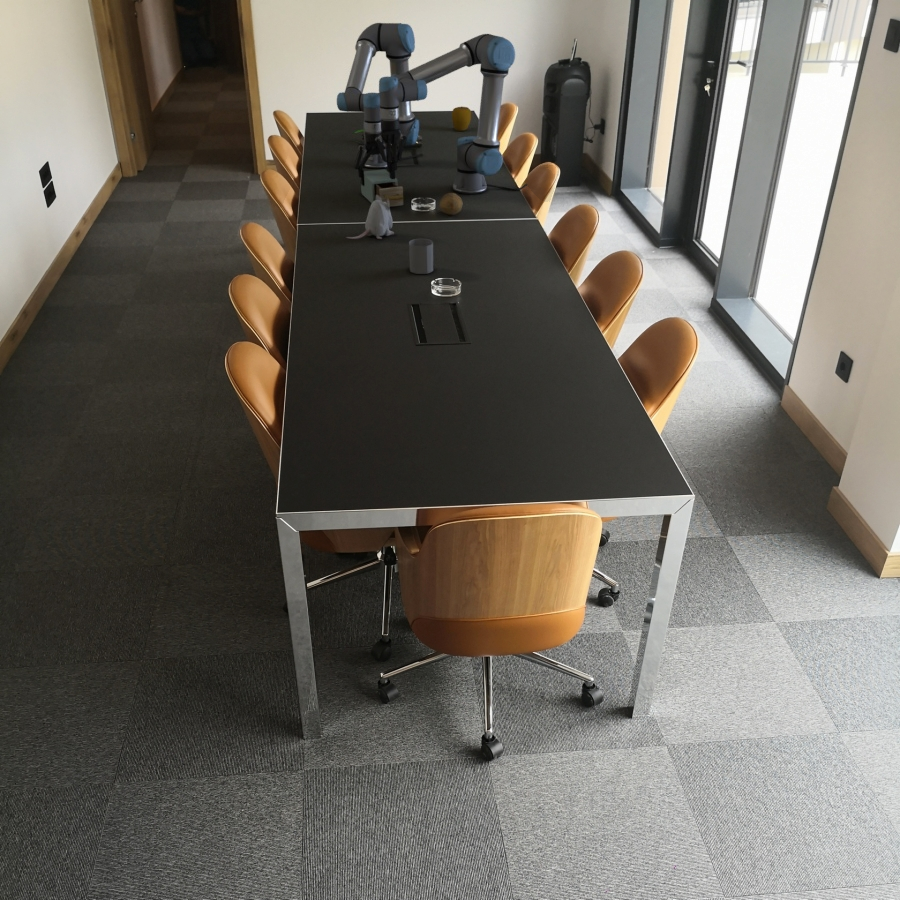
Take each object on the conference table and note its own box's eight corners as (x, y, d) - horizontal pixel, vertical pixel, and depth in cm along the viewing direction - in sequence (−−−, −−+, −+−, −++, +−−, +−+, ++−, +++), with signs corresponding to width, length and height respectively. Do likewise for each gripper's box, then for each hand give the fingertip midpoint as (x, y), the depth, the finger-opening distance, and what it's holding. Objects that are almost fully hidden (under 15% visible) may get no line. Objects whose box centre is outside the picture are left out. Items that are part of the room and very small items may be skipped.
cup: (409, 265, 311) (408, 238, 306) (432, 265, 312) (431, 238, 307) (410, 274, 304) (409, 246, 299) (433, 273, 305) (433, 246, 299)
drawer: (407, 208, 365) (406, 190, 361) (384, 211, 362) (383, 192, 358) (391, 195, 382) (391, 177, 378) (369, 197, 379) (368, 179, 374)
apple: (471, 132, 486) (471, 108, 479) (451, 132, 486) (451, 108, 479) (470, 128, 495) (471, 104, 488) (452, 128, 495) (452, 104, 488)
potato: (461, 208, 368) (461, 189, 364) (463, 218, 357) (464, 199, 352) (438, 208, 368) (438, 190, 364) (440, 219, 356) (440, 199, 352)
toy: (399, 234, 340) (398, 196, 332) (354, 249, 326) (352, 209, 317) (384, 229, 345) (382, 191, 337) (338, 243, 331) (336, 204, 323)
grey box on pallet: (398, 201, 377) (397, 179, 372) (373, 204, 373) (371, 181, 368) (386, 191, 390) (385, 169, 385) (361, 193, 387) (360, 171, 382)
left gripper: (349, 136, 364) (352, 188, 376) (402, 131, 372) (404, 182, 383) (344, 132, 370) (347, 183, 382) (397, 128, 378) (398, 178, 389)
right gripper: (377, 122, 342) (380, 182, 355) (408, 119, 346) (410, 179, 359) (371, 118, 348) (374, 177, 361) (402, 115, 352) (404, 174, 365)
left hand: (376, 183), depth 383 cm, fingers closed on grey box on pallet, 11 cm apart
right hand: (392, 178), depth 360 cm, fingers closed
